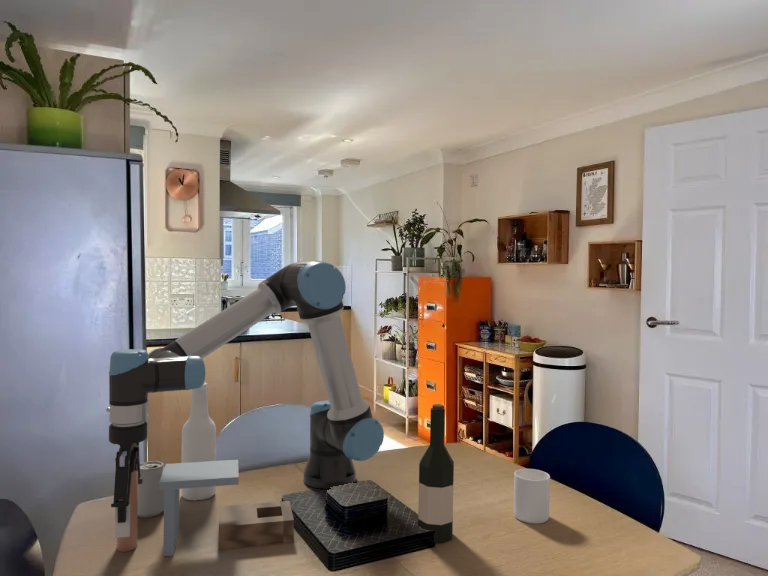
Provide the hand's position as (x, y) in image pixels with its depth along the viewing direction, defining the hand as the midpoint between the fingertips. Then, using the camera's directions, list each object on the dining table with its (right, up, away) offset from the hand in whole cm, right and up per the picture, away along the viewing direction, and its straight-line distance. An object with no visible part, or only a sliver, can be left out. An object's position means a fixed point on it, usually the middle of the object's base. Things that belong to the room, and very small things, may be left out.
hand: (127, 525), depth 122 cm
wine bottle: (+67, -6, +8) cm, 68 cm away
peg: (0, -5, 0) cm, 5 cm away
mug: (+92, -6, +21) cm, 94 cm away
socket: (+26, -5, +7) cm, 27 cm away
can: (-3, -5, +18) cm, 19 cm away
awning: (+14, -5, +4) cm, 16 cm away
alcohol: (+6, -5, +30) cm, 30 cm away
